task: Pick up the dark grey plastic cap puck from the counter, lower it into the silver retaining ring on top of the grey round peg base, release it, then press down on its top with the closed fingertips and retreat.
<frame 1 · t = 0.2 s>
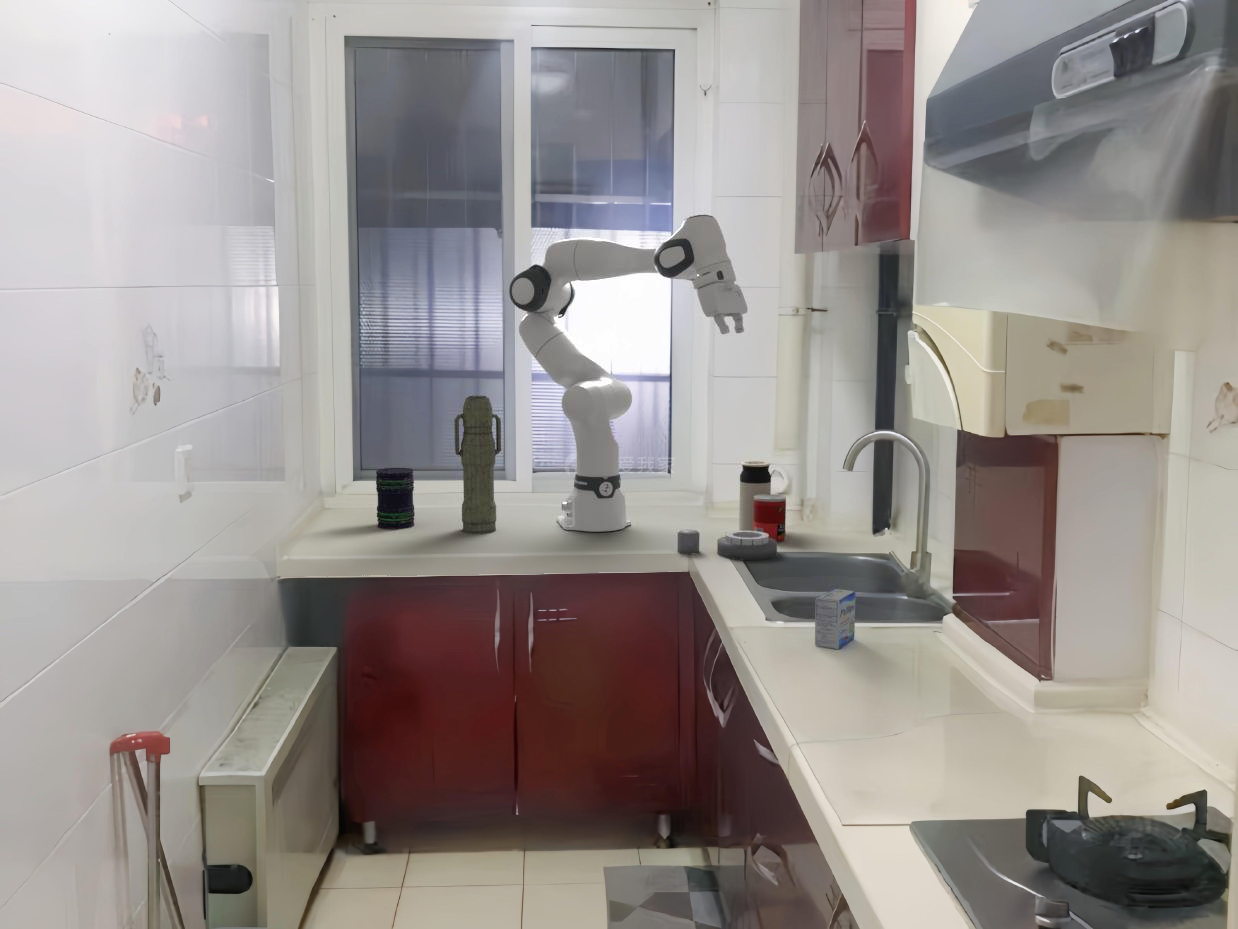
hand: (733, 333, 274), 52 cm above the counter, tool tilted 20°, fingers open, 8 cm apart
medicine box: (834, 643, 196), on the counter
canned food: (769, 540, 283), on the counter
cap: (688, 551, 269), on the counter
grey round peg base: (746, 553, 267), on the counter
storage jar: (396, 526, 300), on the counter
travel mug: (754, 532, 294), on the counter
thermos: (479, 530, 294), on the counter
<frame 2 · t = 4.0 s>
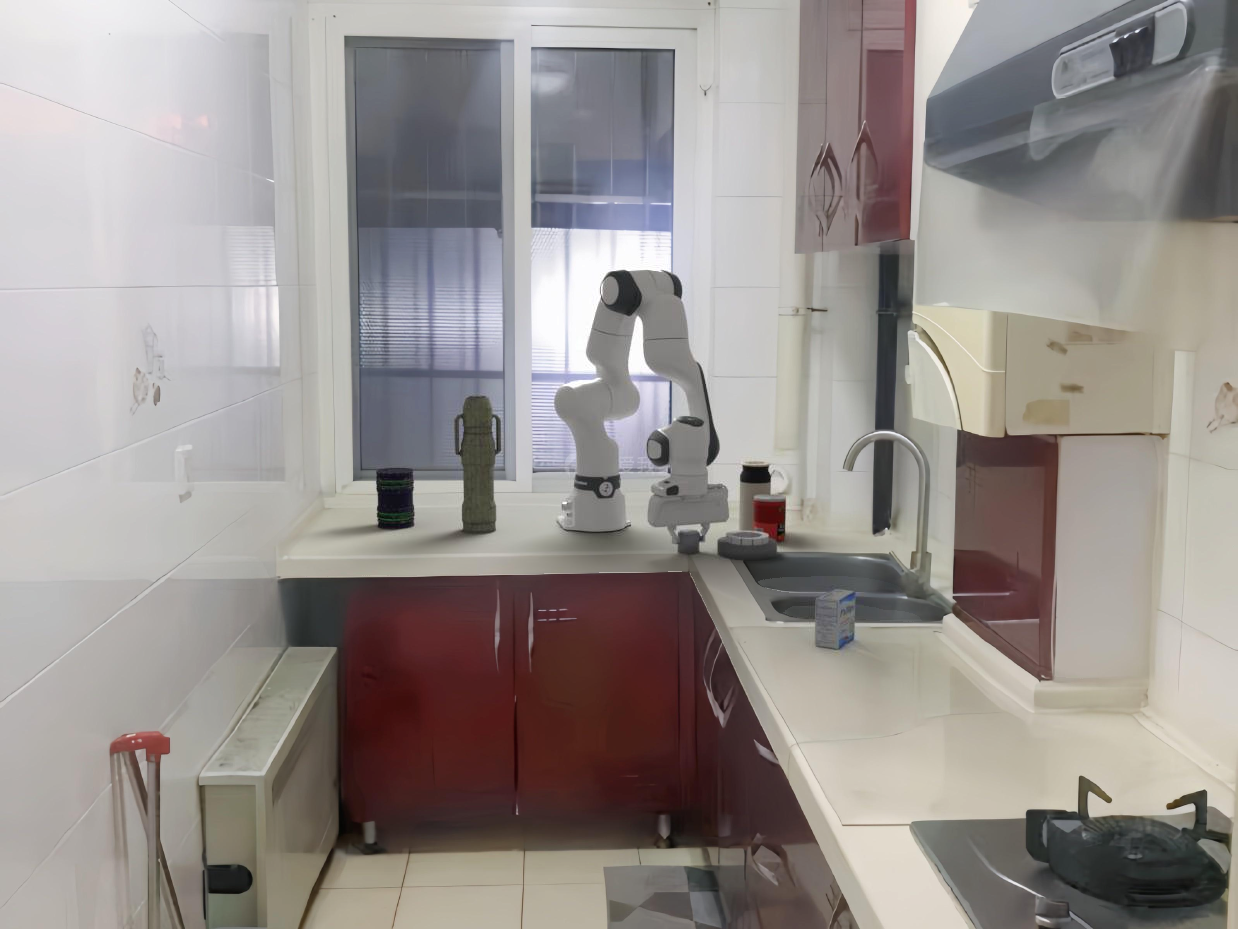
hand: (688, 542, 269), 2 cm above the counter, tool pointing down, fingers closed on cap, 5 cm apart
cap: (688, 551, 269), on the counter, touching gripper
everything else where it was.
when the fingers open (6 cm above the counter, at t = 8.2 s): cap stays where it is, resting on grey round peg base.
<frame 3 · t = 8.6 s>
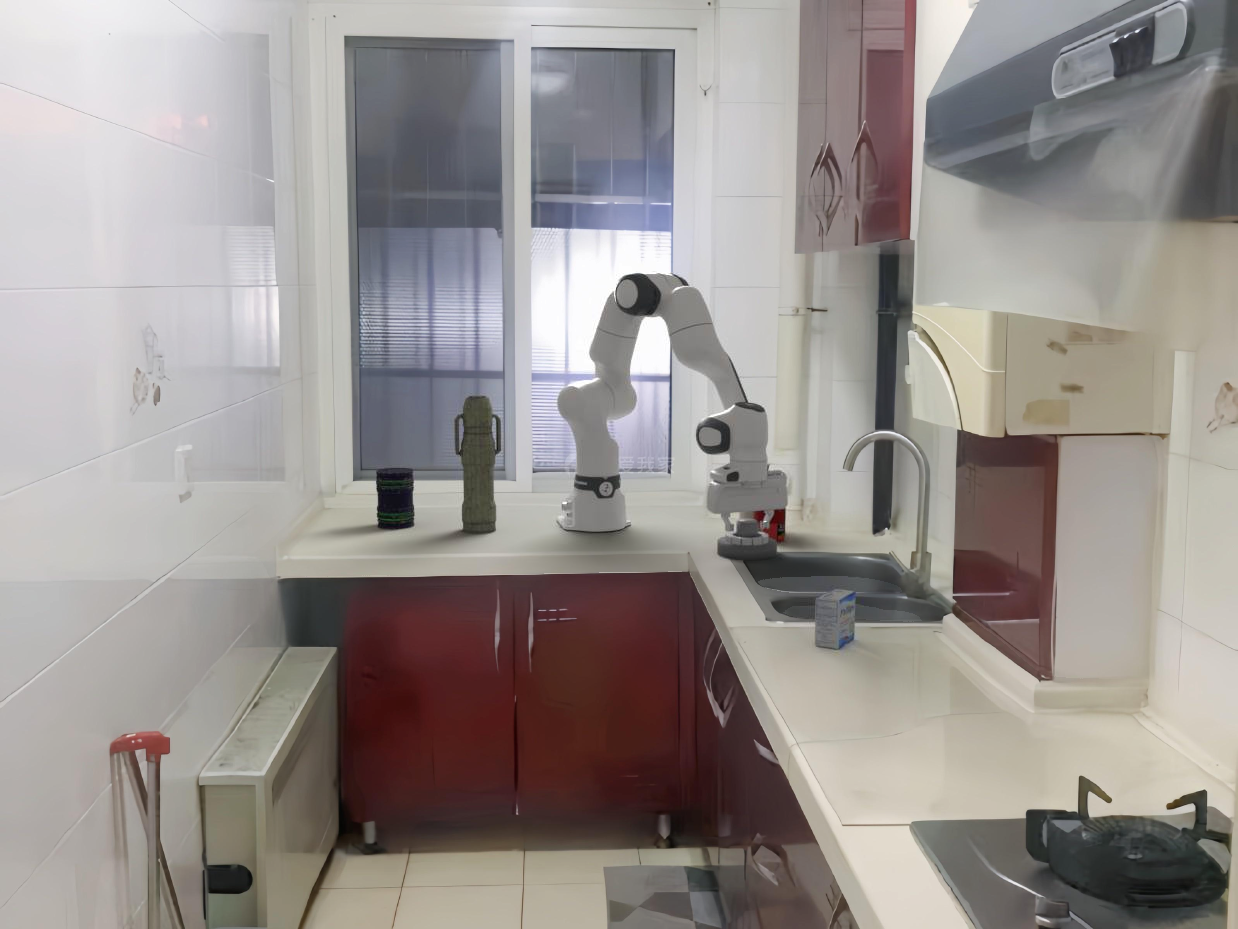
hand: (747, 529, 266), 6 cm above the counter, tool pointing down, fingers open, 8 cm apart
cap: (747, 541, 267), point 3 cm above the counter, touching grey round peg base
everything else where it was.
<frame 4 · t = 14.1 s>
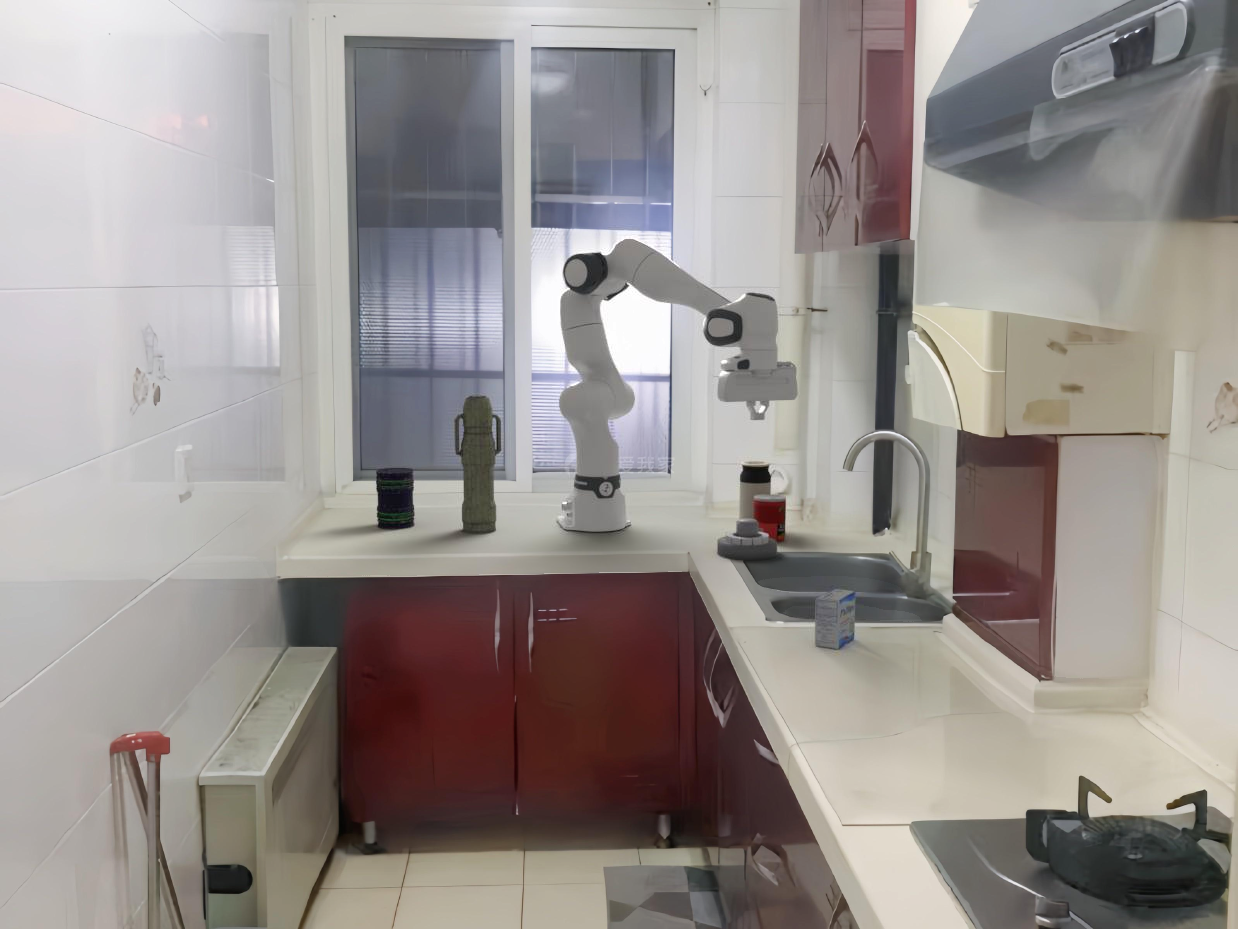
hand: (757, 420, 269), 31 cm above the counter, tool pointing down, fingers closed
nothing on the counter moved.
at the end: cap 0.0 cm off-centre on the grey round peg base, point 3.0 cm above the grey round peg base's base; cap tilted 0°; the gripper is holding nothing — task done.
